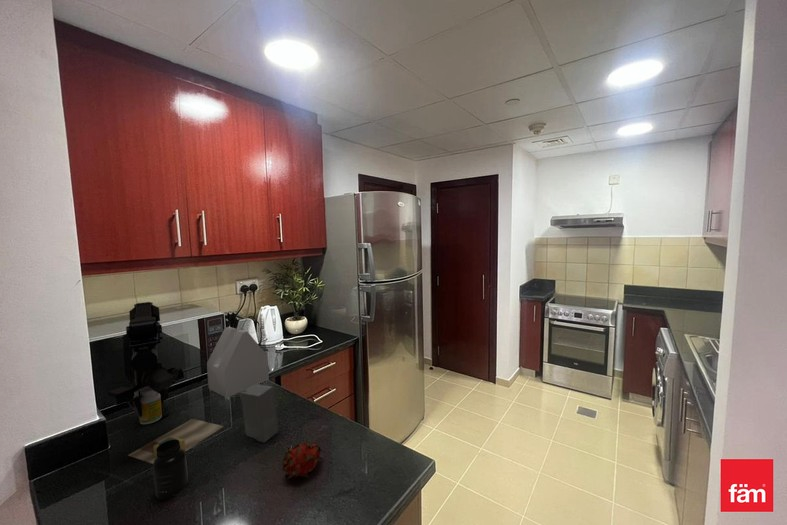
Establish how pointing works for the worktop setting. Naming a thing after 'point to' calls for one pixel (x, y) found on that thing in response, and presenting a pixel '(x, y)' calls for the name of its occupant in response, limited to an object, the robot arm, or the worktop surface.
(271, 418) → the skincare box
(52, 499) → the worktop surface
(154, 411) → the supplement bottle
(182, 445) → the stud finder
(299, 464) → the dragon fruit
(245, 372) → the milk carton
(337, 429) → the worktop surface
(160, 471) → the supplement bottle
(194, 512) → the worktop surface
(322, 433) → the worktop surface
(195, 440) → the plywood board
